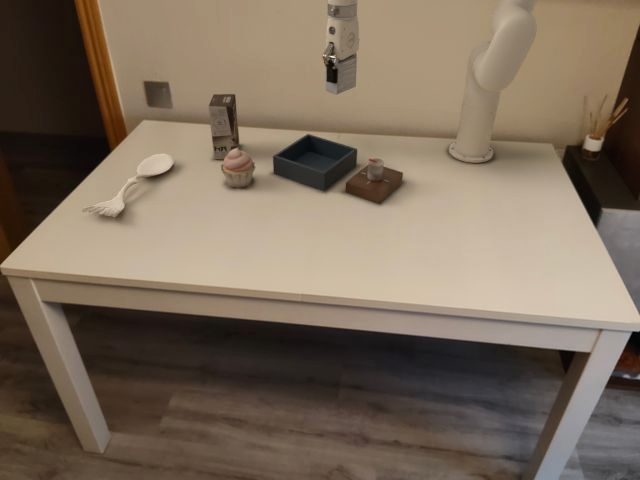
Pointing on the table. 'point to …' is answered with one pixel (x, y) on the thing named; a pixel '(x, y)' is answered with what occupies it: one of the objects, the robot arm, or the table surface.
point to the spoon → (145, 169)
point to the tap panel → (374, 184)
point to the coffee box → (223, 124)
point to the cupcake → (238, 168)
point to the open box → (315, 162)
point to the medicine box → (344, 75)
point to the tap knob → (375, 169)
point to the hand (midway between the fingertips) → (340, 77)
